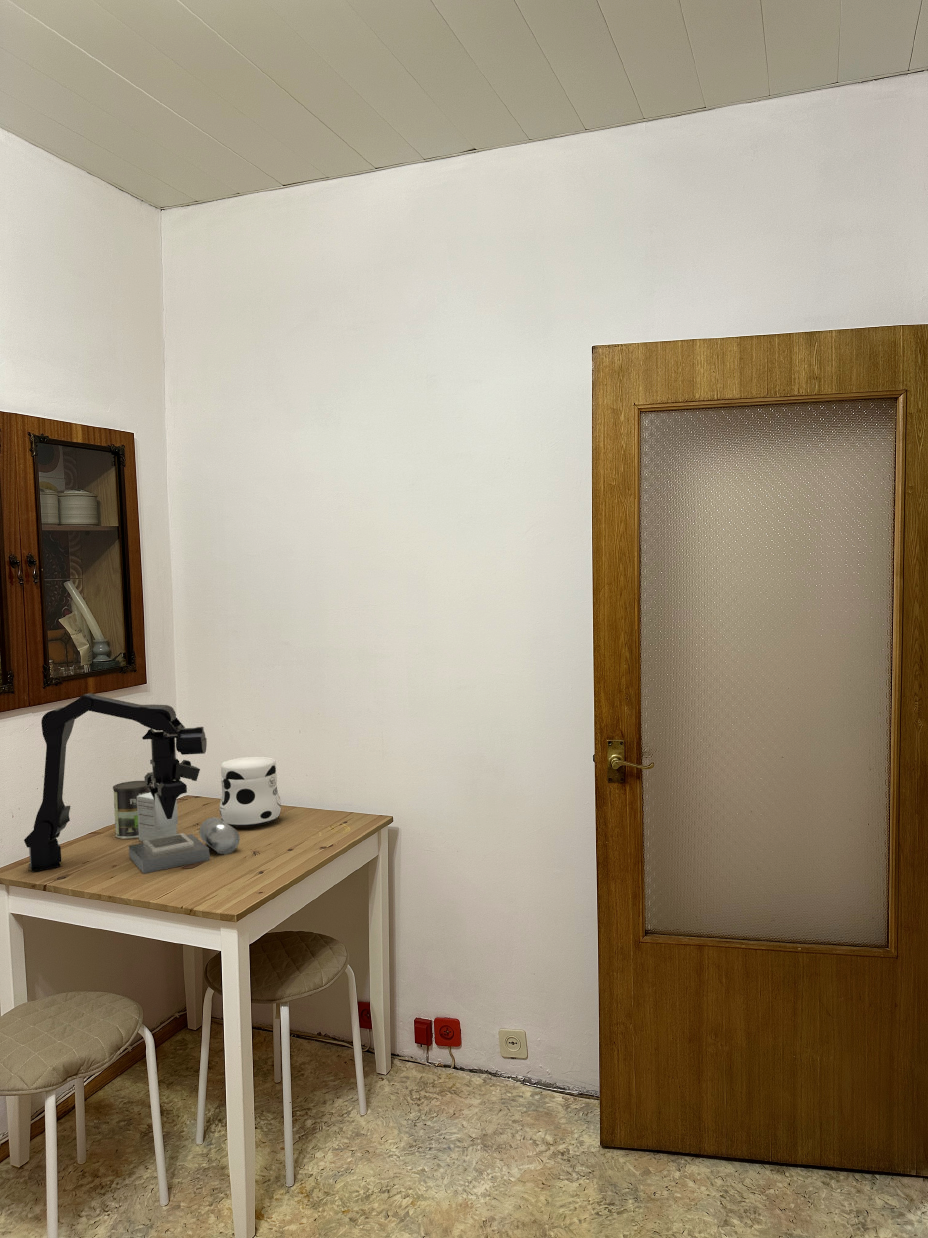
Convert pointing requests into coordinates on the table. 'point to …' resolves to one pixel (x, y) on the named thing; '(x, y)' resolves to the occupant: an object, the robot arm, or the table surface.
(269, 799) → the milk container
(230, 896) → the table surface
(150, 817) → the supplement box
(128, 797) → the coffee can
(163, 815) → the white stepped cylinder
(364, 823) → the table surface
